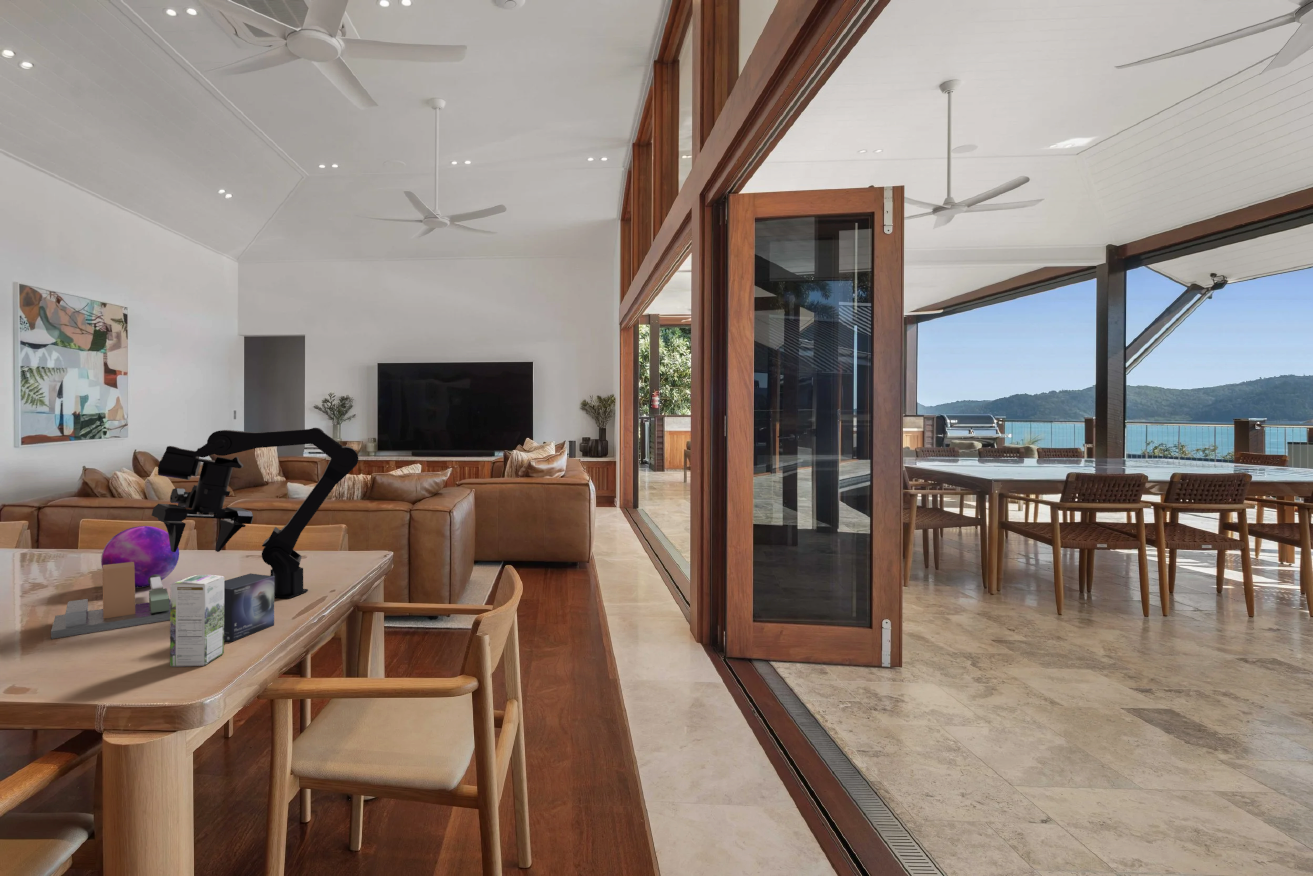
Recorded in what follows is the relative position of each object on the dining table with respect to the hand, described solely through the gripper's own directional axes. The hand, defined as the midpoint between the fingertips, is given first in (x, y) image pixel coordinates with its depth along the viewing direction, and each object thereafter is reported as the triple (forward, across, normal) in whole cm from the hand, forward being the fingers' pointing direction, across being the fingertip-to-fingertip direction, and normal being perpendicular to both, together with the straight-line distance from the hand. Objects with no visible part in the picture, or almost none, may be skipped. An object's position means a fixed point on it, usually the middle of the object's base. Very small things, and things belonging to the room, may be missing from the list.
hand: (195, 551), depth 143 cm
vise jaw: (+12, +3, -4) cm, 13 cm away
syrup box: (+10, +16, +38) cm, 42 cm away
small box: (+9, +4, +29) cm, 31 cm away
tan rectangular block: (+13, +12, 0) cm, 17 cm away
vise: (+14, +11, +1) cm, 18 cm away
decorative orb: (+15, -4, -26) cm, 30 cm away
